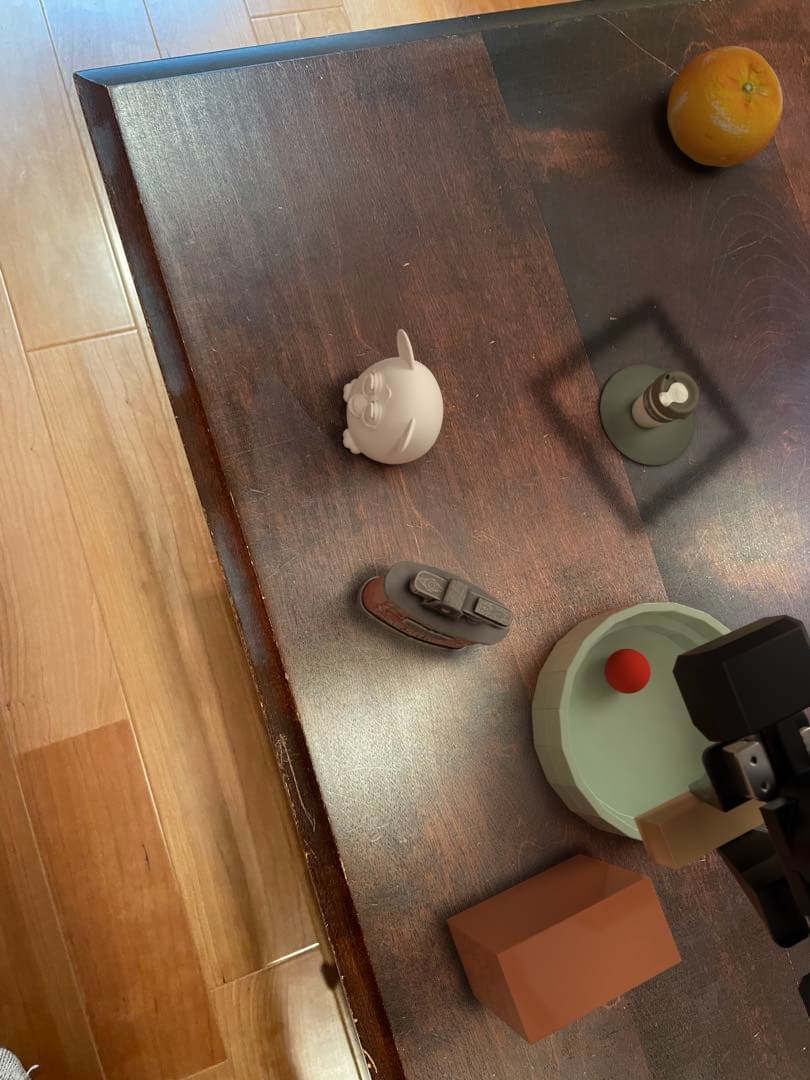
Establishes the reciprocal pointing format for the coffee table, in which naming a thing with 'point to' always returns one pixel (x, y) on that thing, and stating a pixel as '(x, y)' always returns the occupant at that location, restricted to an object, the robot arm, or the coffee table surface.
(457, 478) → the coffee table surface
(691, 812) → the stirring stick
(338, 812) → the coffee table surface
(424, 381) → the figurine
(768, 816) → the robot arm
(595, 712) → the bowl
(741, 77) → the fruit
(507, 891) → the rectangular block
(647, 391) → the coffee cup
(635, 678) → the tomato ball
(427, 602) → the lighter
